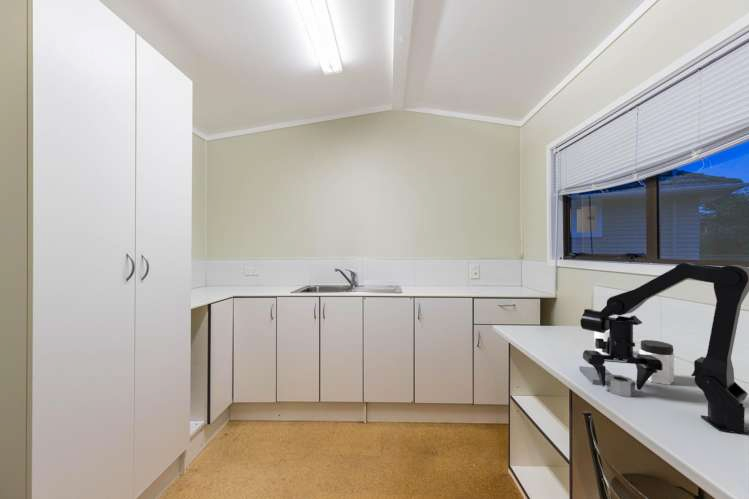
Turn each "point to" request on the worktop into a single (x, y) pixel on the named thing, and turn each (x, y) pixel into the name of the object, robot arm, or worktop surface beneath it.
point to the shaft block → (593, 374)
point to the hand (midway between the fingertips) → (620, 387)
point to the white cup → (601, 336)
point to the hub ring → (621, 385)
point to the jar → (664, 355)
